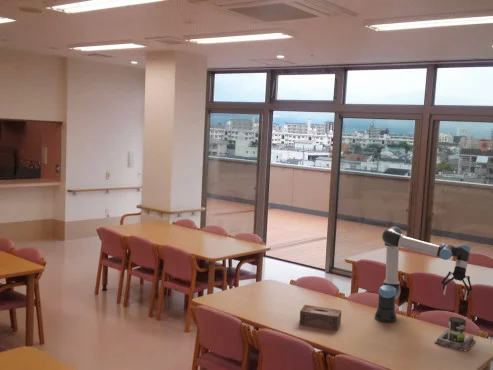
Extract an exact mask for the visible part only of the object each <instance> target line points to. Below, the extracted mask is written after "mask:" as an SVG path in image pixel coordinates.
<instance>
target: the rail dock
mask: <svg viewBox="0 0 493 370" xmlns="http://www.w3.org/2000/svg"><path fill="white" fill-rule="evenodd" d="M447 339H448V328H446V329H445V330H444V331H443V333H441V334H440V335H439V336H438V338H437V339H436V340H435V341H434V344H436V345H440V346H443V345H444V346H443V347H447V346H448V347H447V348H451V347H452V348H451V349H454V348H457V349H456V350H458V349H462V350H466V351H467V350H468V349H469V348H470V347H471V348H472V346H473V345H474V344H475V343H476V339H474V335H472V334H470V335H469V336H467V337H464V343H462V344H461V343H457V342H453V341H449V340H447ZM474 342H475V343H474ZM473 343H474V344H473ZM472 344H473V345H472ZM471 345H472V346H471ZM471 348H470V349H471ZM470 349H469V350H470ZM462 350H461V351H462ZM469 350H468V351H469ZM466 351H465V352H466ZM468 351H467V352H468Z"/></svg>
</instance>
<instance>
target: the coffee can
mask: <svg viewBox="0 0 493 370" xmlns="http://www.w3.org/2000/svg"><path fill="white" fill-rule="evenodd" d="M466 324H467V320H466V319H464V318H461V317H457V316H455V317H454V316H453V317H452V316H451V317H449V318H448V328H447V329H448V339H447V340H449V341H453V342H457V343H461V344H462V343H464V337H465V336H466Z"/></svg>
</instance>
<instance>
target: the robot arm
mask: <svg viewBox="0 0 493 370" xmlns="http://www.w3.org/2000/svg"><path fill="white" fill-rule="evenodd" d="M402 231H403V230H401V228H399V227H398V226H390V227H388V228H387V229H385V230H384V231H383V232H382V235H381V237H382V241H383V242H384V246H385V247H386V258H385V260H386V262H385V279H384V280H383V283H382V284H383V285H381V286H380V287H379V289H378V301H377V302H378V303H377V309H376V312H375V314H374V319H375V320H376V321H379V322H381V323H395V322H397V319H398V318H397V313H396V310H395V309H396V301H397V299H398V298H399V297H400V296H401V286H400V285H401V283H400V281H399V250H400V248H404V249H408V250H413V251H416V252H420V253H423V254H427V255H431V256H435V257H438V258H440V259H442V260H445V261H447V260H450V259H451V258H452V257H454V258H456V259H455V263H454V264H455V266H454V269H453V271H448V273H447V275H446V276H445V277H444V278H443V279H442V280H441V284H442V285H443V286H442V290H443V296H445V295H446V290H447V287H448V286H447V285H448V284H449V283H451V281H453V280H455V281H460V282H462V283H463V285H464V286H465V288H466V290H465V295H464V301H466V300H467V297H468V296H469V295H470V292H472V291H473V287H472V284H471V280H470V279H471V278H470V276H469V275H466V273H467V268H468V263H469V258H470V254H471V246H470V245H466V244H464V243H463V244H461V243H460V244H459V246H457V245H453V244H449V243H448V244H447V243H441V244H440V245H438V244H435V243H431V242H427V241H423V240H419V239H415V238H412V237H408V236H405V235H404V234H403V232H402ZM450 276H452V277H451V278H450V279H449V277H450ZM465 278H466V280H467V282H468V284H467V283H466V281H465ZM468 285H469V286H468Z"/></svg>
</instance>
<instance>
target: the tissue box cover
mask: <svg viewBox="0 0 493 370" xmlns="http://www.w3.org/2000/svg"><path fill="white" fill-rule="evenodd" d="M341 320H342V310H341V309H337V308H329V307H323V306H317V305H309V304H304V305H303V307H301V310H300V311H299V324H298V325H300V326H305V327H311V328H317V329H324V330H328V331H330V330H331V331H337V332H338V330H339V327H340V326H341V323H342V322H341Z"/></svg>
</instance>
